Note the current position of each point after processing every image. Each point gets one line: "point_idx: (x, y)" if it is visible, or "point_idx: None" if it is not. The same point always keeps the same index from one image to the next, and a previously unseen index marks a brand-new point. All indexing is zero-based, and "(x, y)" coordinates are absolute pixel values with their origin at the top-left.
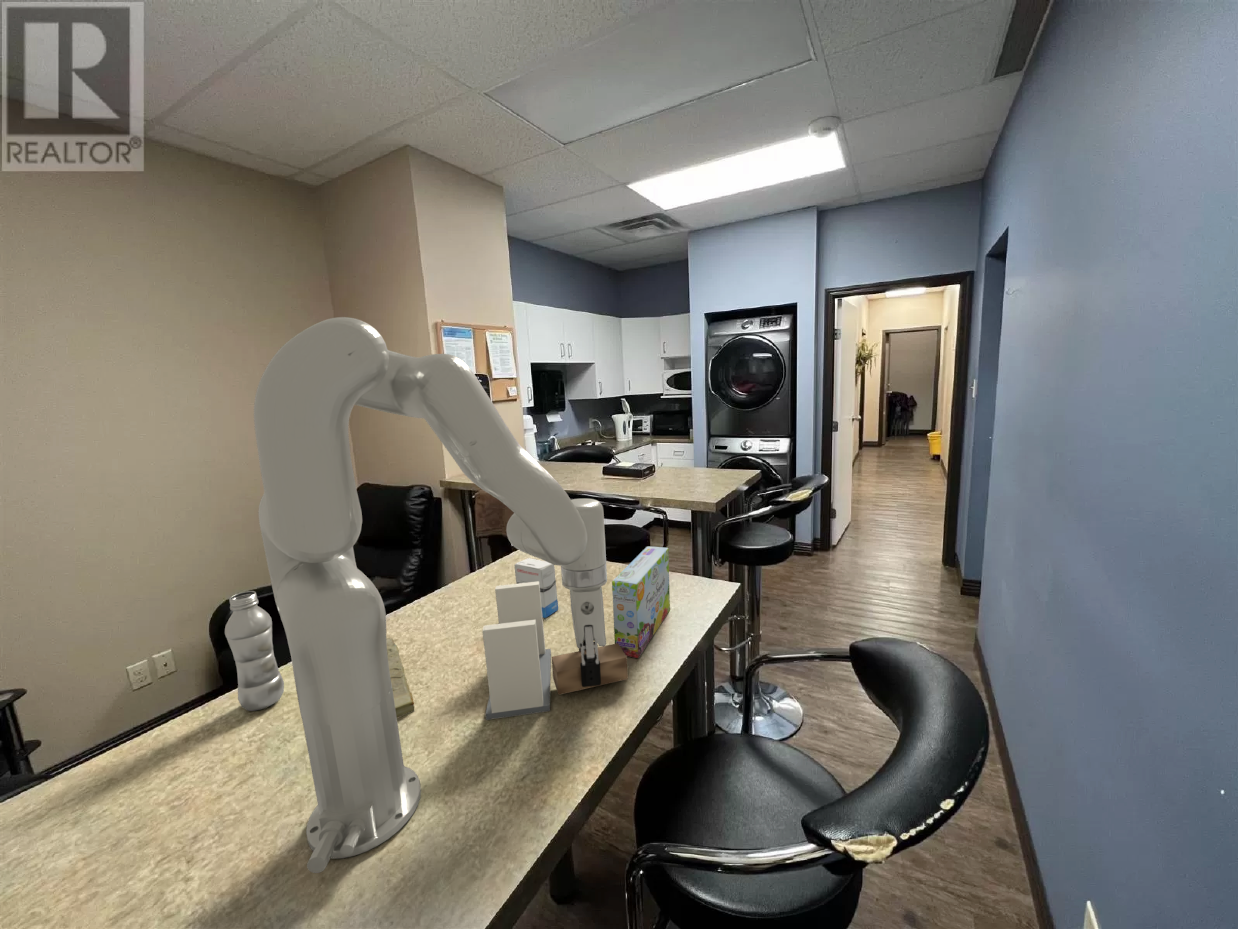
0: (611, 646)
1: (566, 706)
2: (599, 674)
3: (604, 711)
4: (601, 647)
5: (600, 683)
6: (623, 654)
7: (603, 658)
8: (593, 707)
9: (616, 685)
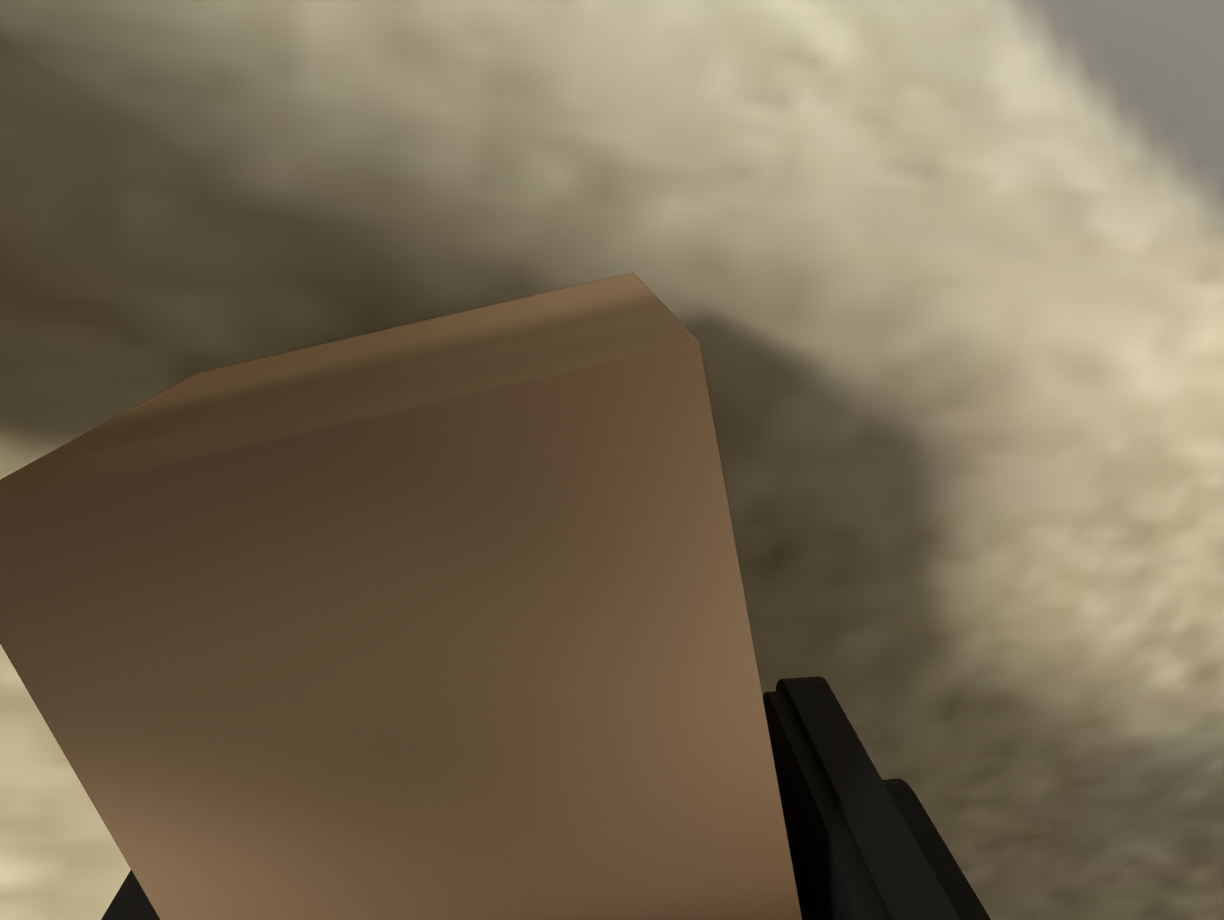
0: (121, 678)
1: None
2: (877, 788)
3: (1000, 557)
4: (175, 874)
5: (828, 685)
6: (550, 418)
7: (647, 834)
8: (905, 654)
9: None
